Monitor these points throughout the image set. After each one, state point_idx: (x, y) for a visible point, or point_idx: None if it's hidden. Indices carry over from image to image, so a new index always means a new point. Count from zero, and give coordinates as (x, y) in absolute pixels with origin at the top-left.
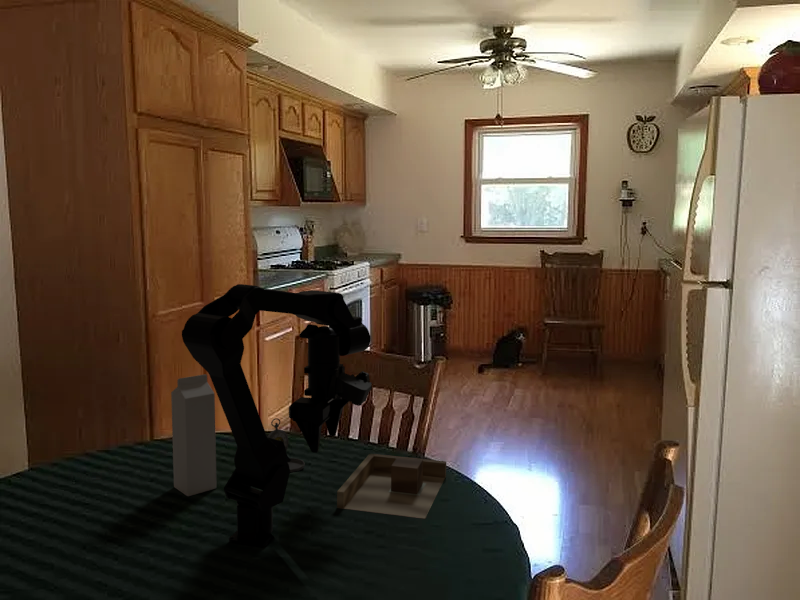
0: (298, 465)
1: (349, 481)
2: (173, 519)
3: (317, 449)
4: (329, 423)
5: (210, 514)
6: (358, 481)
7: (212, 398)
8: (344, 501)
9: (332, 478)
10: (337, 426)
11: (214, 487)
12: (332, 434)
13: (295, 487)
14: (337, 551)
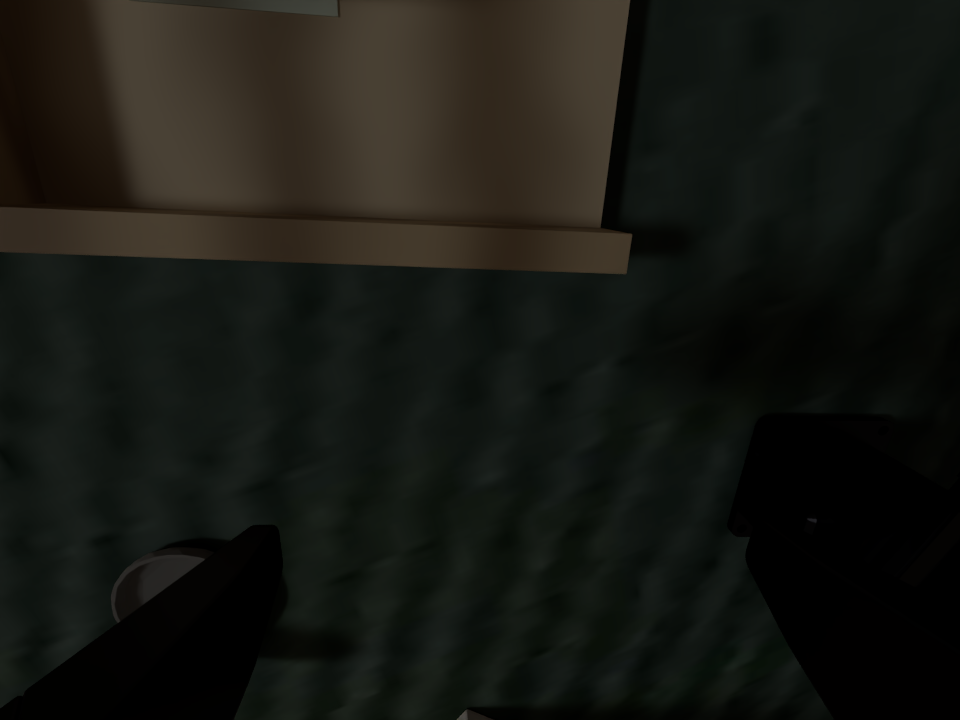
0: (158, 572)
1: (470, 245)
2: (694, 702)
3: (812, 536)
4: (214, 712)
5: (654, 643)
6: (348, 219)
7: None
8: (596, 229)
9: (220, 396)
10: (186, 593)
11: (473, 715)
12: (273, 557)
13: (377, 502)
14: (934, 146)
